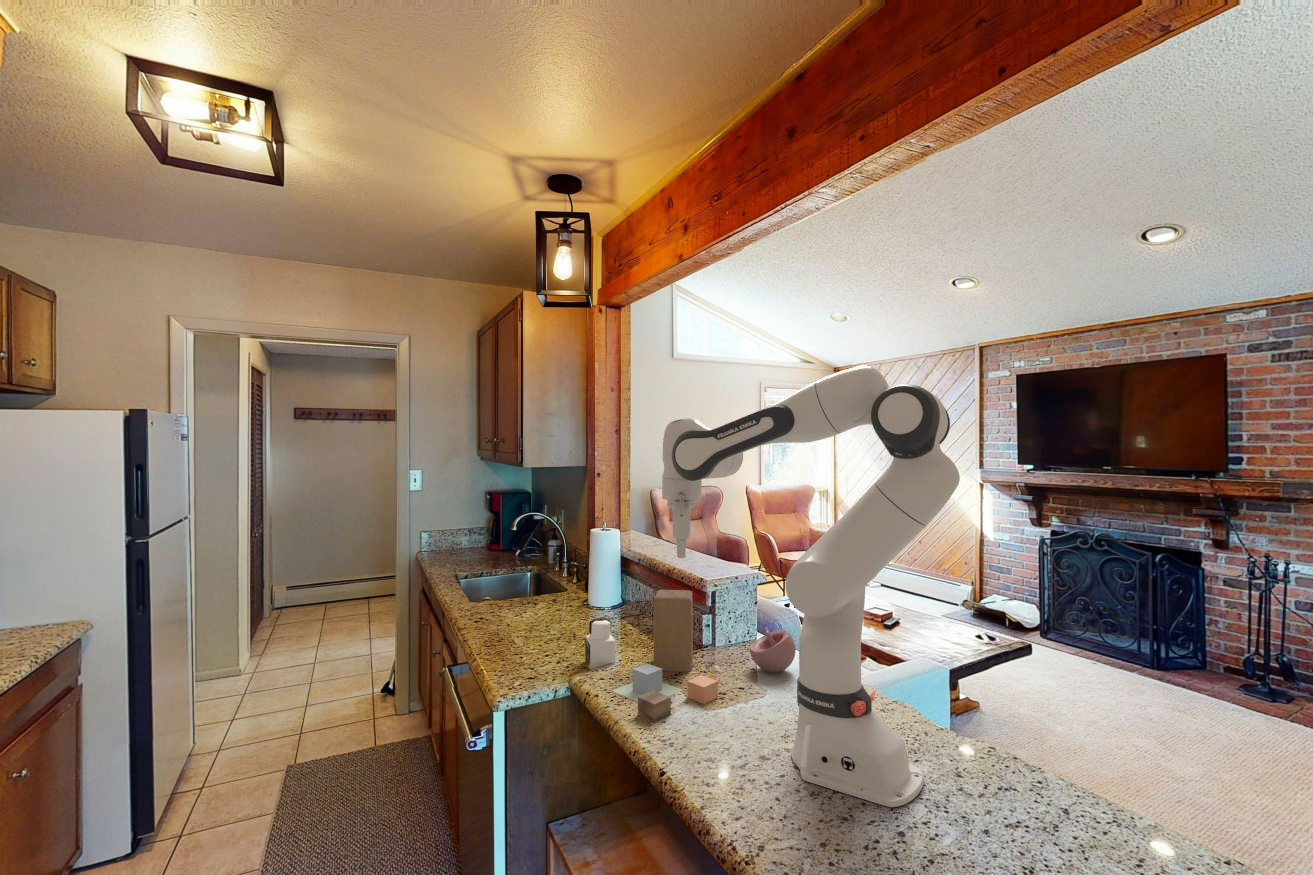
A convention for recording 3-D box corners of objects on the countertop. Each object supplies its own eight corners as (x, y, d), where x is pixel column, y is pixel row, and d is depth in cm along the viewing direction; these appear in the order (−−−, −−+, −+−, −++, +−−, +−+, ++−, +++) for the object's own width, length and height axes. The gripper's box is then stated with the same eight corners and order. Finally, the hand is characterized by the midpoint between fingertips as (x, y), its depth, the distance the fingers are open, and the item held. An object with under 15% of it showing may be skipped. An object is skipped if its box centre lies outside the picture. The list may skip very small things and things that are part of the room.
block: (692, 662, 153) (692, 589, 154) (691, 676, 143) (691, 598, 144) (656, 661, 154) (656, 588, 155) (653, 675, 144) (653, 597, 145)
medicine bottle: (584, 660, 155) (585, 617, 155) (609, 658, 157) (609, 615, 158) (589, 670, 148) (589, 624, 149) (615, 667, 150) (615, 622, 151)
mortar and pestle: (747, 662, 154) (746, 620, 154) (790, 662, 153) (790, 620, 154) (752, 679, 142) (752, 633, 142) (800, 679, 141) (799, 634, 142)
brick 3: (718, 702, 128) (717, 680, 128) (704, 709, 124) (704, 687, 125) (701, 696, 131) (701, 675, 132) (687, 703, 128) (687, 681, 128)
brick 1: (662, 689, 132) (662, 668, 132) (647, 696, 128) (647, 674, 129) (647, 684, 135) (647, 663, 136) (632, 690, 132) (632, 668, 132)
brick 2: (670, 720, 119) (670, 696, 119) (654, 728, 116) (654, 704, 116) (653, 713, 123) (653, 690, 123) (637, 720, 119) (637, 697, 119)
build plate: (683, 694, 132) (683, 689, 132) (647, 711, 123) (647, 705, 123) (647, 681, 140) (647, 676, 140) (611, 695, 132) (611, 690, 132)
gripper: (697, 494, 114) (696, 562, 113) (694, 489, 134) (694, 546, 134) (666, 494, 114) (665, 562, 114) (668, 488, 135) (668, 546, 134)
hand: (681, 553), depth 124 cm, fingers open, 8 cm apart
